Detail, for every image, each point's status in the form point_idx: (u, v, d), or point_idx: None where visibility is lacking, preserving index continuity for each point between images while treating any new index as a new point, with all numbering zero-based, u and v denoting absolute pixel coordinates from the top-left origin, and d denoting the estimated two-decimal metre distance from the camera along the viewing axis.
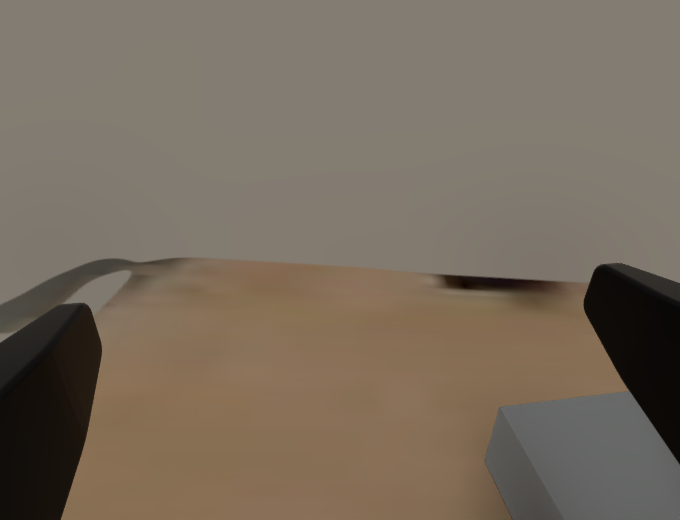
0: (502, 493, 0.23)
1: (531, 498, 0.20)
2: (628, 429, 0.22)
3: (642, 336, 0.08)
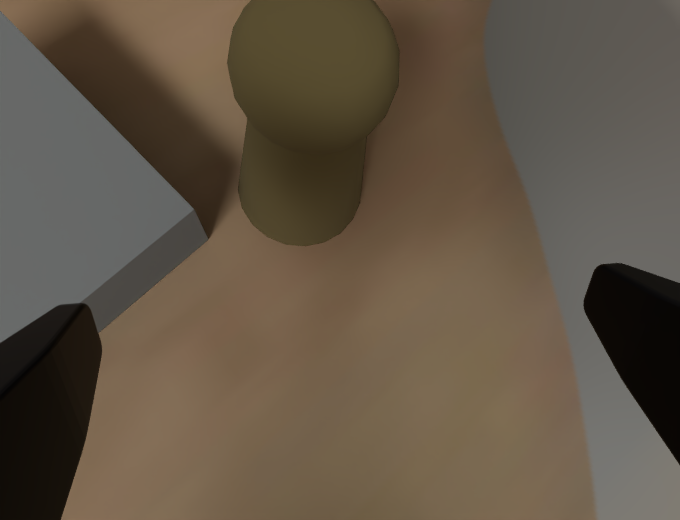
0: None
1: None
2: None
3: (642, 336, 0.08)
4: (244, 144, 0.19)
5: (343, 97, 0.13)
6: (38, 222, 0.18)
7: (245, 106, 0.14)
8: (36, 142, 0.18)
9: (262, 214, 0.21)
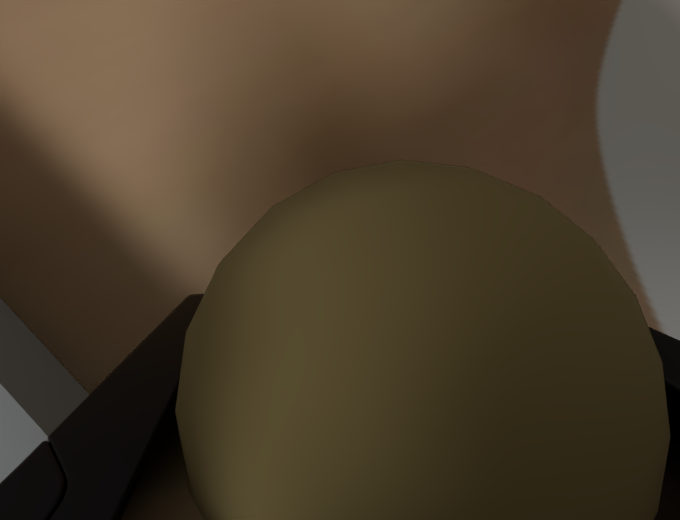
0: None
1: None
2: None
3: None
4: None
5: None
6: None
7: None
8: None
9: None
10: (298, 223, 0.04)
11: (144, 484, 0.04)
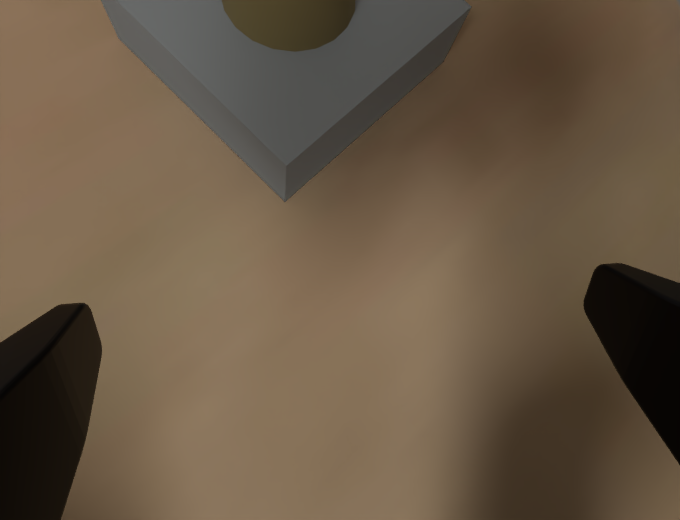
0: (144, 61, 0.24)
1: (156, 53, 0.21)
2: None
3: (642, 336, 0.08)
4: None
5: None
6: (355, 10, 0.22)
7: None
8: None
9: None
10: None
11: None
